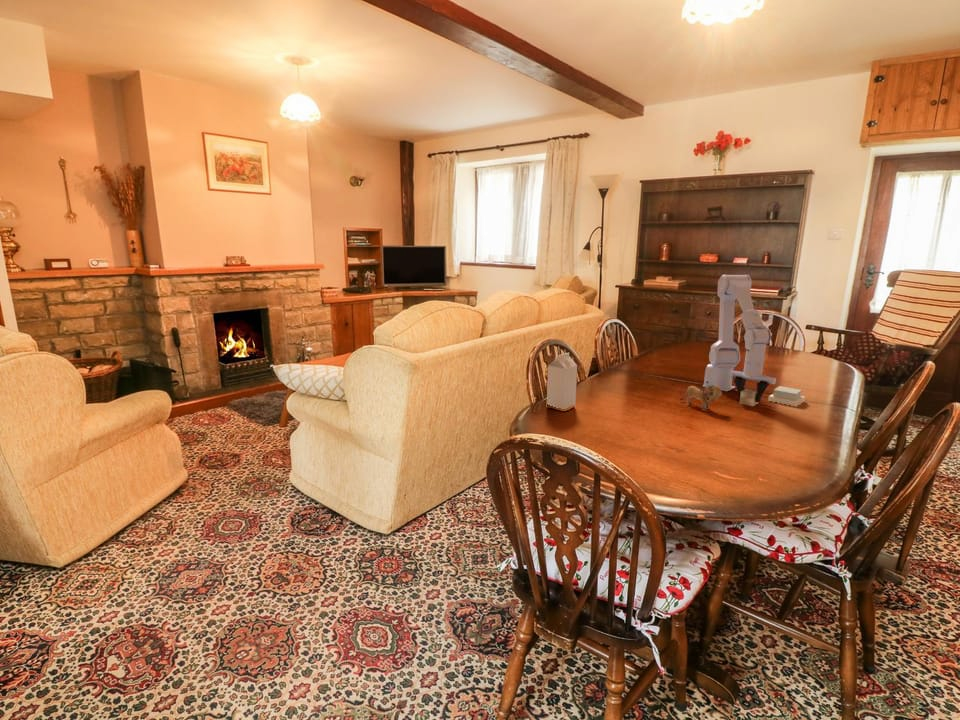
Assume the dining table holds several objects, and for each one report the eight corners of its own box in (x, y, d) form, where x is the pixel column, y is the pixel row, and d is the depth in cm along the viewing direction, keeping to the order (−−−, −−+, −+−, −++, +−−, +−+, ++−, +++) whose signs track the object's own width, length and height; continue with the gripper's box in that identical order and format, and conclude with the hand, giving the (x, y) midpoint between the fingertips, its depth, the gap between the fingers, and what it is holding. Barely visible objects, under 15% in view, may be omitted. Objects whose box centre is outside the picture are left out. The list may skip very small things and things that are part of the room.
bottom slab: (767, 402, 178) (768, 396, 178) (776, 397, 184) (777, 391, 183) (796, 408, 172) (797, 401, 171) (804, 403, 178) (805, 396, 177)
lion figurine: (722, 411, 167) (725, 385, 165) (713, 414, 164) (716, 388, 162) (683, 400, 179) (685, 376, 177) (674, 402, 176) (676, 378, 174)
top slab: (773, 396, 177) (774, 389, 177) (778, 392, 182) (779, 386, 181) (795, 400, 172) (796, 393, 172) (800, 396, 177) (801, 390, 177)
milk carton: (546, 408, 169) (548, 354, 165) (558, 403, 174) (560, 350, 170) (563, 413, 164) (566, 357, 160) (575, 408, 169) (578, 353, 165)
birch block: (739, 403, 175) (740, 391, 174) (744, 401, 178) (745, 389, 177) (753, 406, 172) (754, 394, 171) (757, 404, 175) (759, 391, 174)
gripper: (727, 360, 174) (723, 397, 177) (772, 367, 164) (767, 406, 167) (735, 357, 179) (731, 393, 182) (780, 364, 168) (774, 402, 171)
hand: (749, 399), depth 175 cm, fingers open, 5 cm apart
